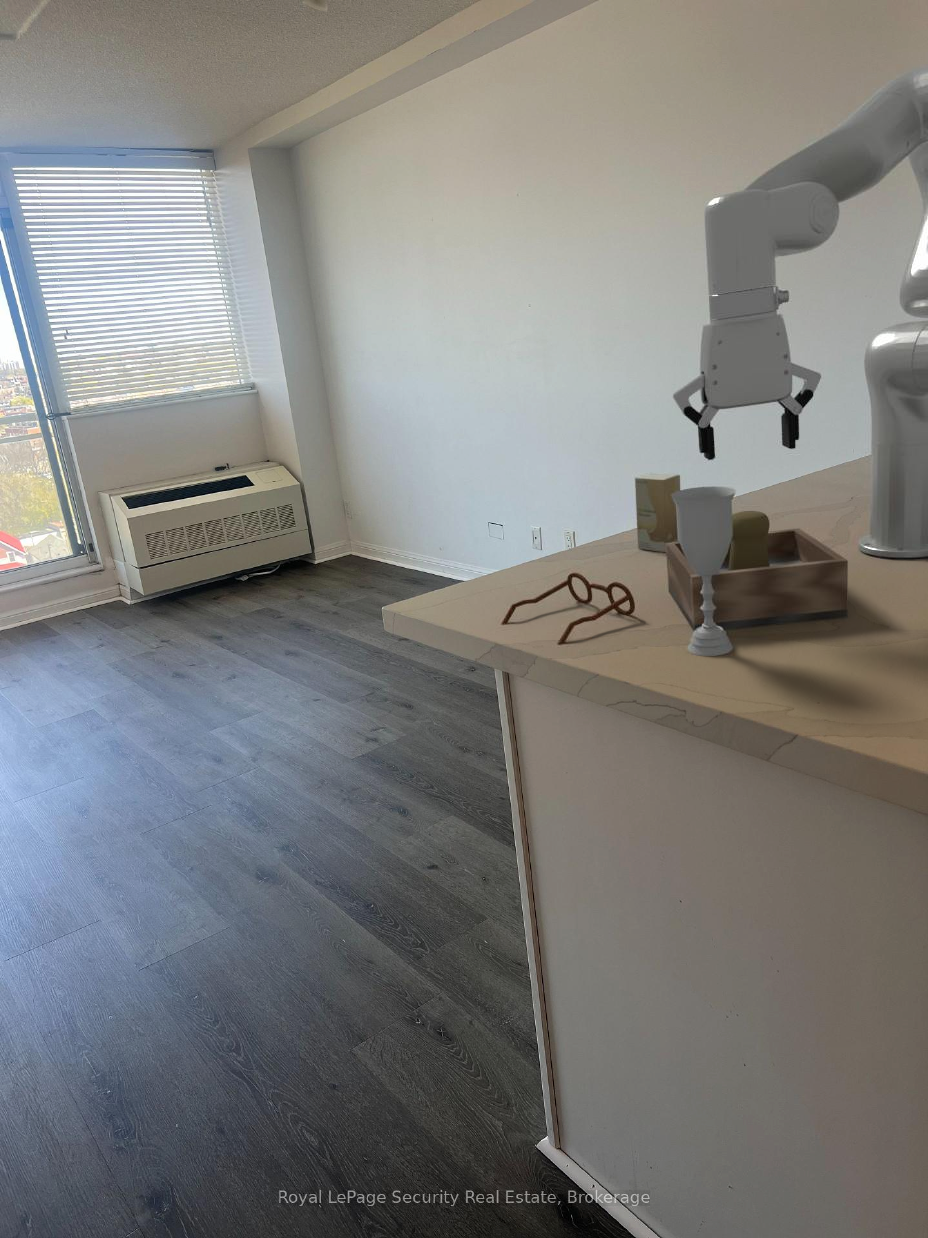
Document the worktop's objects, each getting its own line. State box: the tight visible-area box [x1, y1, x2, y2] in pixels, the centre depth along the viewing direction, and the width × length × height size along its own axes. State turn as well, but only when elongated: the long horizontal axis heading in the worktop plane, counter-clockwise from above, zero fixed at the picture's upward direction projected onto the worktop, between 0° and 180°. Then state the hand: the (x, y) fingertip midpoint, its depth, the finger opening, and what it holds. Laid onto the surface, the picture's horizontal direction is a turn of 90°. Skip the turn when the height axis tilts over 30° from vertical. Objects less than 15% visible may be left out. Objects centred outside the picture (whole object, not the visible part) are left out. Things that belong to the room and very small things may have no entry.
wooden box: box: [665, 527, 849, 632], centre depth 113 cm, size 18×18×7 cm
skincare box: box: [634, 472, 681, 553], centre depth 145 cm, size 6×4×12 cm
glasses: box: [500, 572, 636, 645], centre depth 116 cm, size 13×13×5 cm
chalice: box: [671, 486, 737, 657], centre depth 98 cm, size 7×7×18 cm
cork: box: [728, 510, 770, 571], centre depth 112 cm, size 6×6×11 cm
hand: (749, 452), depth 108 cm, fingers open, 9 cm apart
